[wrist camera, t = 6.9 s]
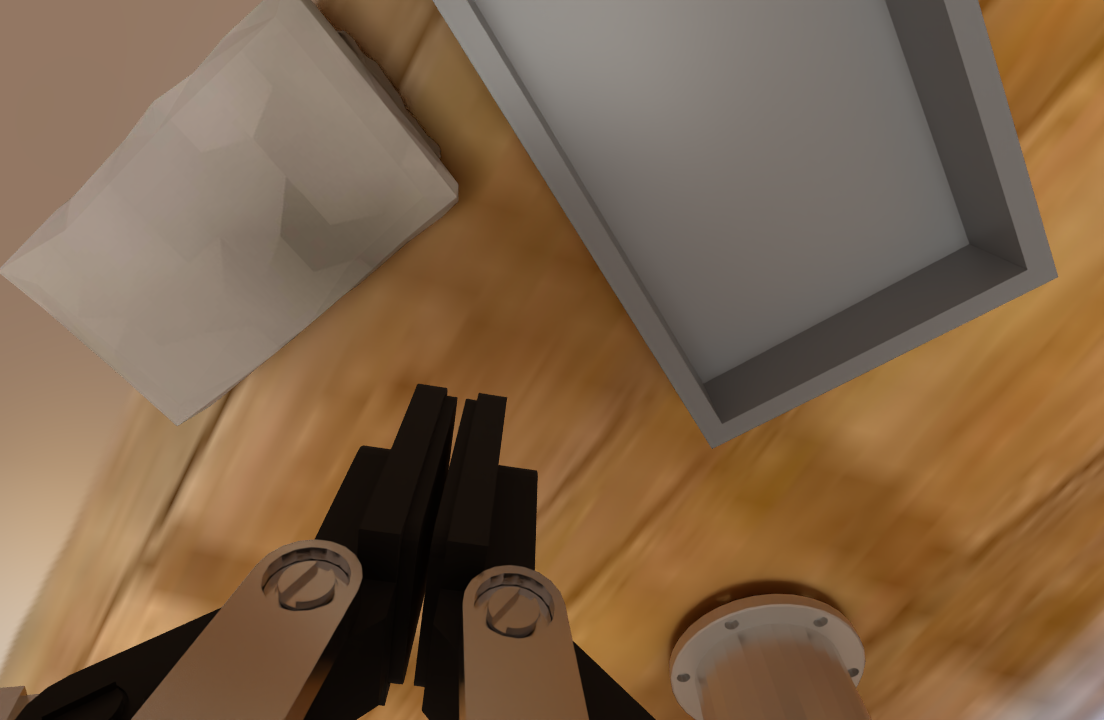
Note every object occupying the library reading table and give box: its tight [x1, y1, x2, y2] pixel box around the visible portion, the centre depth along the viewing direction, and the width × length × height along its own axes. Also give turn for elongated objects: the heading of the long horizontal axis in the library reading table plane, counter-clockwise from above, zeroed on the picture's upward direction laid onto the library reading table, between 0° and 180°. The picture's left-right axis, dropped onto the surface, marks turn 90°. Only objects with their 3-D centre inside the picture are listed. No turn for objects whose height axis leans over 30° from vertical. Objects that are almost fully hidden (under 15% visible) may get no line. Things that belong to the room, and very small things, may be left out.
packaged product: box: [0, 0, 458, 426], centre depth 28 cm, size 18×5×10 cm
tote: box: [433, 0, 1058, 449], centre depth 25 cm, size 26×16×5 cm, turn 32°
